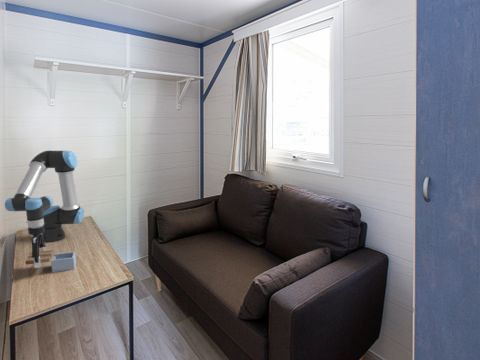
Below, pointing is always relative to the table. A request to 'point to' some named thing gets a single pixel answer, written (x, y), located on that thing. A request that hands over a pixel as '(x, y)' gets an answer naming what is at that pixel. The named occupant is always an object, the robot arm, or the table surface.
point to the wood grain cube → (44, 257)
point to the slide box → (63, 261)
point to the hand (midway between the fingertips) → (40, 262)
